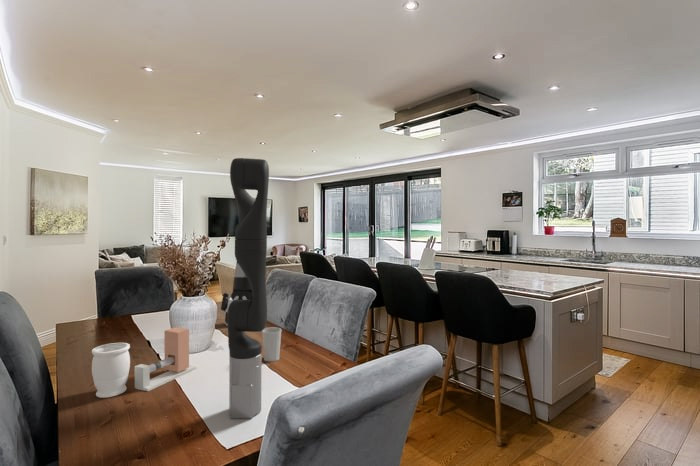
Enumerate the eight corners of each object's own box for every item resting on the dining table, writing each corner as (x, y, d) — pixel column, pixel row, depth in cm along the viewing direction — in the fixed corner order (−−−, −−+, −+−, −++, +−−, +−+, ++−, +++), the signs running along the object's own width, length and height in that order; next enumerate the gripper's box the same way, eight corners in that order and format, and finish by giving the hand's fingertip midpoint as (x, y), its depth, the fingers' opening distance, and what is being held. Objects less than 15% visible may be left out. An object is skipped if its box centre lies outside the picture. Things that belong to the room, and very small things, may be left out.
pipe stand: (184, 366, 144) (184, 347, 144) (196, 368, 142) (196, 349, 142) (134, 388, 124) (134, 366, 124) (147, 391, 122) (147, 369, 122)
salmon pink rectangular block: (175, 364, 142) (175, 327, 141) (188, 367, 139) (188, 329, 139) (164, 369, 137) (164, 330, 137) (178, 372, 135) (178, 332, 134)
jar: (123, 382, 129) (123, 340, 128) (135, 391, 122) (135, 346, 122) (87, 393, 121) (87, 347, 120) (98, 403, 114) (97, 355, 114)
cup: (276, 362, 149) (277, 333, 148) (258, 361, 150) (258, 332, 150) (284, 356, 156) (284, 327, 156) (266, 354, 158) (266, 326, 158)
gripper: (221, 275, 129) (215, 323, 125) (260, 276, 127) (255, 325, 123) (230, 278, 136) (225, 323, 132) (267, 279, 134) (263, 325, 130)
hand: (240, 324), depth 128 cm, fingers open, 8 cm apart
